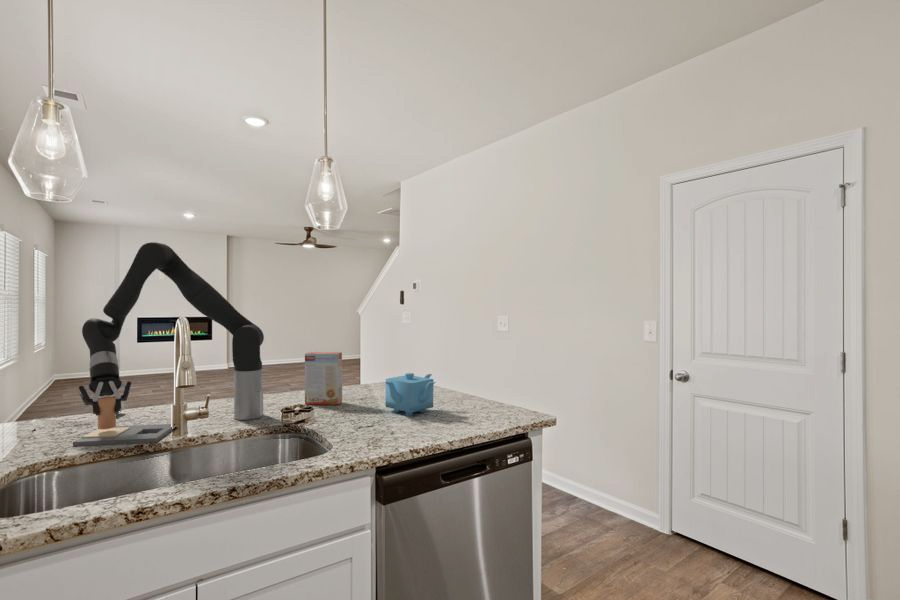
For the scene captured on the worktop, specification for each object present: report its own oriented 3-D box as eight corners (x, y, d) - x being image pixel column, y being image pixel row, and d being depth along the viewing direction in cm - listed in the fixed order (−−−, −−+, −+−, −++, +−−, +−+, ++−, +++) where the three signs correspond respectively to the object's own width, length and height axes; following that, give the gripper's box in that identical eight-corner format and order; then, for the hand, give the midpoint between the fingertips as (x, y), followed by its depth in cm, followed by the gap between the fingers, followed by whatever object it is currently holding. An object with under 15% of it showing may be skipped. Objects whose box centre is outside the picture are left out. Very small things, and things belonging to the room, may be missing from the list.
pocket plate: (177, 427, 155) (177, 422, 155) (155, 442, 139) (155, 436, 139) (103, 430, 151) (103, 425, 151) (72, 446, 135) (72, 440, 135)
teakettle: (386, 406, 186) (386, 369, 186) (433, 405, 188) (433, 369, 188) (384, 419, 167) (384, 378, 167) (436, 418, 169) (436, 377, 169)
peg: (118, 424, 147) (118, 396, 146) (111, 429, 142) (111, 399, 142) (102, 425, 146) (102, 396, 146) (94, 429, 141) (94, 400, 141)
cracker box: (342, 402, 193) (342, 351, 193) (337, 405, 187) (337, 353, 187) (310, 401, 194) (310, 351, 194) (304, 404, 188) (304, 353, 188)
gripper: (76, 363, 145) (78, 409, 136) (131, 359, 154) (136, 402, 145) (75, 377, 149) (77, 423, 140) (129, 373, 158) (134, 416, 149)
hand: (107, 412), depth 142 cm, fingers closed on peg, 4 cm apart
